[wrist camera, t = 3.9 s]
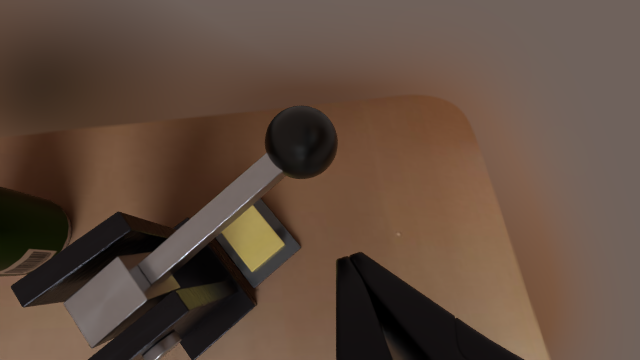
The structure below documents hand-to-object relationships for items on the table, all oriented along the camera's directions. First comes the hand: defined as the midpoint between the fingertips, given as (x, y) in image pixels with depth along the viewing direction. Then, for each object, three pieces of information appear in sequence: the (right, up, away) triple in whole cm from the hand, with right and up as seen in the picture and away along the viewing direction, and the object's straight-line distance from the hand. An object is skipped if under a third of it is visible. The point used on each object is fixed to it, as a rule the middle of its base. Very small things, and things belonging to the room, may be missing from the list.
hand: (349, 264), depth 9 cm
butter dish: (-6, -2, +13) cm, 15 cm away
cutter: (-10, -5, +12) cm, 16 cm away
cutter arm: (-5, +1, +5) cm, 7 cm away
